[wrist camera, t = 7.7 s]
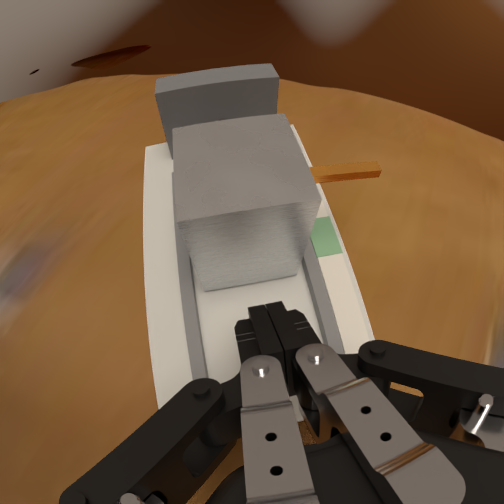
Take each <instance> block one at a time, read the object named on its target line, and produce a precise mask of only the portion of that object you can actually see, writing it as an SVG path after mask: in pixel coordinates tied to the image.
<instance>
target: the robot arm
mask: <svg viewBox="0 0 504 504" xmlns="http://www.w3.org/2000/svg"><path fill="white" fill-rule="evenodd" d="M248 315H249V319H243V320H238V321H237V323H236V325H235V327H234V330H235V335H236V340H237V346H238V351H239V356H240V361H241V367H240V371H239V373H238V374H237V375H236V376H235V377H234V378H232V379H230V380H228V381H226V382H224V383H221V384H220V383H219V382H218V381H216V380H214V379H211V378H199V379H195V380H193V381H191V382H189V383H187V384H186V385H185V386H184V387H183V388H182V389H181V390H180V391H179V392H177V393H176V394H175V395H174V396H173V397H172V398H171V399H170V400H169V401H168V402H167V403H166V404H165V405H163V406H162V407H161V408H160V409H159V410H158V411H157V412H156V413H155V414H154V415H153V416H151V417H150V418H149V419H148V420H147V421H146V422H145V423H144V424H143V425H141V426H140V427H139V428H138V429H137V430H136V431H135V432H134V433H132V434H131V435H130V436H129V437H128V438H127V439H126V440H124V441H123V442H122V443H121V444H120V445H119V446H117V447H116V448H115V449H114V450H113V451H112V452H111V453H109V454H108V455H107V456H106V457H105V458H103V459H102V460H101V461H100V462H99V463H97V464H96V465H95V466H94V467H93V468H91V469H90V470H89V471H88V472H87V473H85V474H84V475H83V476H82V477H80V478H79V479H78V480H77V481H76V482H74V483H73V484H72V485H71V486H69V487H68V488H67V489H66V490H65V491H64V492H63V493H62V495H61V496H60V499H59V504H186V503H187V501H188V500H189V499H190V498H191V497H192V496H193V495H194V494H195V493H196V491H197V490H198V489H199V488H200V487H201V486H202V485H203V483H204V482H205V481H206V480H207V479H208V478H209V476H210V475H211V474H212V473H213V472H214V470H215V469H216V468H217V467H218V466H219V464H220V463H221V462H222V461H223V459H224V458H225V457H226V456H227V454H228V453H229V452H230V451H231V449H232V448H233V447H234V445H235V444H236V441H237V439H238V438H240V437H242V443H243V457H244V465H243V466H241V467H240V468H238V469H236V470H235V471H233V472H232V473H231V474H230V475H228V476H227V477H226V478H225V479H224V480H223V481H222V482H221V484H220V485H219V486H218V487H217V489H216V490H215V491H214V493H213V494H212V495H211V497H210V498H209V499H208V500H207V502H206V503H205V504H504V368H499V367H494V366H489V365H484V364H479V363H475V362H470V361H465V360H461V359H456V358H452V357H448V356H443V355H439V354H435V353H431V352H427V351H423V350H419V349H415V348H411V347H407V346H403V345H399V344H395V343H391V342H387V341H383V340H372V341H368V342H366V343H364V344H362V345H361V346H360V348H359V350H358V353H356V354H337V353H336V352H335V351H334V350H333V349H332V348H331V347H330V346H328V345H325V344H322V343H321V341H320V339H319V338H318V336H317V335H316V333H315V331H314V330H313V328H312V327H311V325H310V323H309V322H308V320H307V318H306V317H305V315H304V314H303V313H301V312H300V311H298V310H296V309H294V310H289V311H287V310H286V308H285V306H284V304H283V302H282V301H278V302H273V303H267V304H265V305H264V304H263V305H257V306H252V307H248ZM391 382H394V383H398V384H401V385H404V386H408V387H411V388H415V389H418V390H420V391H421V392H422V393H423V395H424V396H423V397H419V396H416V395H412V394H409V393H405V392H402V391H399V390H395V389H392V388H390V385H391ZM288 395H289V396H288ZM295 395H296V396H297V398H298V403H299V411H300V413H301V415H302V417H303V419H304V421H305V423H306V425H307V427H308V429H309V431H310V433H311V435H312V437H313V438H314V440H315V442H316V444H311V445H303V443H302V439H301V435H300V431H299V427H298V423H297V419H296V415H295V411H294V407H293V404H292V401H290V400H289V397H291V396H295Z"/></svg>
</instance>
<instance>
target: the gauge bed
mask: <svg viewBox="0 0 504 504" xmlns="http://www.w3.org/2000/svg"><path fill="white" fill-rule="evenodd" d="M278 87H279V76H278V74H277V72H276V71H275V69H274V67H273V66H272V64H257V65H244V66H235V67H225V68H217V69H209V70H203V71H196V72H190V73H184V74H178V75H173V76H168V77H163V78H159V79H156V87H155V97H156V101H157V105H158V109H159V113H160V117H161V121H162V124H163V128H164V132H165V136H166V139H167V142H166V143H161V144H157V145H152V146H148V147H146V150H145V167H144V193H143V252H144V279H145V297H146V311H147V323H148V334H149V343H150V352H151V361H152V369H153V376H154V383H155V390H156V397H157V403H158V409H160V408H161V407H162V406H163V405H165V404H166V403H167V402H168V401H169V400H170V399H171V398H172V397H173V396H174V395H175V394H176V393H177V392H179V391H180V390H181V389H182V388H183V387H184V386H185V385H186V384H187V383H189V382H191V381H193V380H195V379H199V378H211V379H214V380H216V381H218V382H219V383H220V384H221V383H224V382H226V381H228V380H230V379H232V378H234V377H235V376H236V375H237V374H238V373H239V371H240V367H241V361H240V356H239V351H238V346H237V340H236V335H235V330H234V327H235V325H236V323H237V321H238V320H243V319H249V315H248V307H252V306H257V305H263V304H264V305H265V304H267V303H273V302H278V301H282V302H283V304H284V306H285V308H286V310H287V311H289V310H294V309H296V310H298V311H300V312H301V313H303V314H304V315H305V317H306V318H307V320H308V322H309V323H310V325H311V327H312V328H313V330H314V331H315V333H316V335H317V336H318V338H319V339H320V341H321V343H322V344H325V345H328V346H330V347H331V348H332V349H333V350H334V351H335V352H336V353H337V354H356V353H358V350H359V348H360V346H361V345H362V344H364V343H366V342H368V341H372V340H375V339H374V335H373V332H372V329H371V325H370V322H369V319H368V315H367V312H366V309H365V306H364V302H363V299H362V296H361V293H360V290H359V287H358V284H357V281H356V278H355V275H354V272H353V269H352V266H351V264H350V261H349V258H348V255H347V252H346V250H345V247H344V244H343V241H342V239H341V236H340V233H339V231H338V228H337V225H336V223H335V220H334V218H333V215H332V213H331V210H330V208H329V205H328V203H327V200H326V198H325V195H324V193H323V190H322V188H321V186H320V183H317V184H316V185H317V188H318V190H319V193H320V195H321V198H322V201H321V204H320V207H319V210H318V213H317V216H316V219H315V222H314V225H313V229H312V232H311V235H310V238H309V241H308V244H307V247H306V249H305V252H304V255H303V258H302V261H301V264H300V267H299V270H298V273H297V275H293V276H288V277H282V278H277V279H272V280H266V281H261V282H256V283H250V284H245V285H239V286H233V287H228V288H222V289H216V290H210V291H205V292H204V290H203V287H202V285H201V283H200V280H199V278H198V275H197V273H196V270H195V268H194V266H193V263H192V261H191V258H190V256H189V253H188V250H187V248H186V245H185V243H184V240H183V238H182V235H181V233H180V230H179V227H178V225H177V221H176V207H175V190H174V169H173V135H172V129H173V128H178V127H184V126H189V125H195V124H201V123H207V122H213V121H217V120H220V119H235V118H243V117H251V116H261V115H272V114H277V100H278ZM290 126H291V128H292V130H293V133H294V135H295V137H296V139H297V141H298V144H299V146H300V148H301V150H302V153H303V155H304V157H305V159H306V162H307V164H308V166H309V167H312V165H311V162H310V160H309V158H308V156H307V153H306V151H305V149H304V147H303V145H302V142H301V140H300V138H299V136H298V134H297V132H296V130H295V127H294V125H290ZM288 396H289V395H288ZM289 400H290V401H292V404H293V407H294V411H295V415H296V419H297V422H299V421H303V420H304V419H303V417H302V415H301V413H300V411H299V403H298V398H297V396H296V395H295V396H291V397H289Z"/></svg>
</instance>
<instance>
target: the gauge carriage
mask: <svg viewBox="0 0 504 504" xmlns="http://www.w3.org/2000/svg"><path fill="white" fill-rule="evenodd" d="M172 135H173V169H174V190H175V207H176V221H177V225H178V227H179V230H180V233H181V235H182V238H183V240H184V243H185V245H186V248H187V250H188V253H189V256H190V258H191V261H192V263H193V266H194V268H195V270H196V273H197V275H198V278H199V280H200V283H201V285H202V287H203V290H204V292H205V291H210V290H216V289H222V288H228V287H233V286H239V285H245V284H250V283H256V282H261V281H266V280H272V279H277V278H282V277H288V276H293V275H297V273H298V270H299V267H300V264H301V261H302V258H303V255H304V252H305V249H306V247H307V244H308V241H309V238H310V235H311V232H312V229H313V225H314V222H315V219H316V216H317V213H318V210H319V207H320V204H321V201H322V198H321V195H320V193H319V190H318V188H317V185H316V184H317V183H325V182H334V181H343V180H353V179H364V178H375V177H379V175H380V173H381V171H382V170H381V168H380V166H379V165H378V163H377V161H376V162H361V163H347V164H335V165H324V166H314V167H309V166H308V164H307V162H306V159H305V157H304V155H303V153H302V150H301V148H300V146H299V144H298V141H297V139H296V137H295V135H294V133H293V130H292V128H291V126H290V124H289V122H288V120H287V118H286V115H285V113H284V114H272V115H261V116H251V117H243V118H235V119H220V120H217V121H213V122H207V123H201V124H195V125H189V126H184V127H178V128H173V129H172Z"/></svg>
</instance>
